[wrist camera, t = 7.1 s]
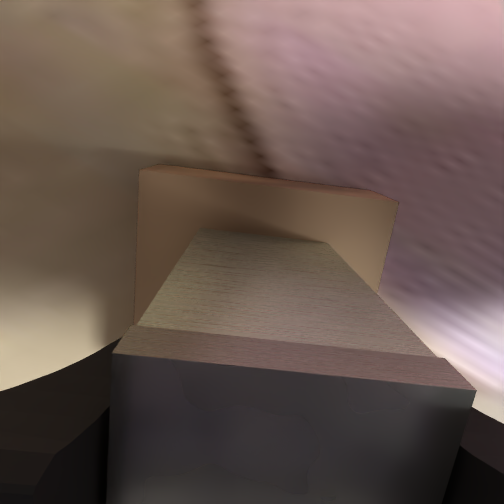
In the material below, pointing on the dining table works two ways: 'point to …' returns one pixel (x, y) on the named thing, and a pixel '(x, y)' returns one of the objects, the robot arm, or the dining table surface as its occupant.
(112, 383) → the tea tin
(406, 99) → the dining table surface
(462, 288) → the dining table surface
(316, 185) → the tan flat square block
